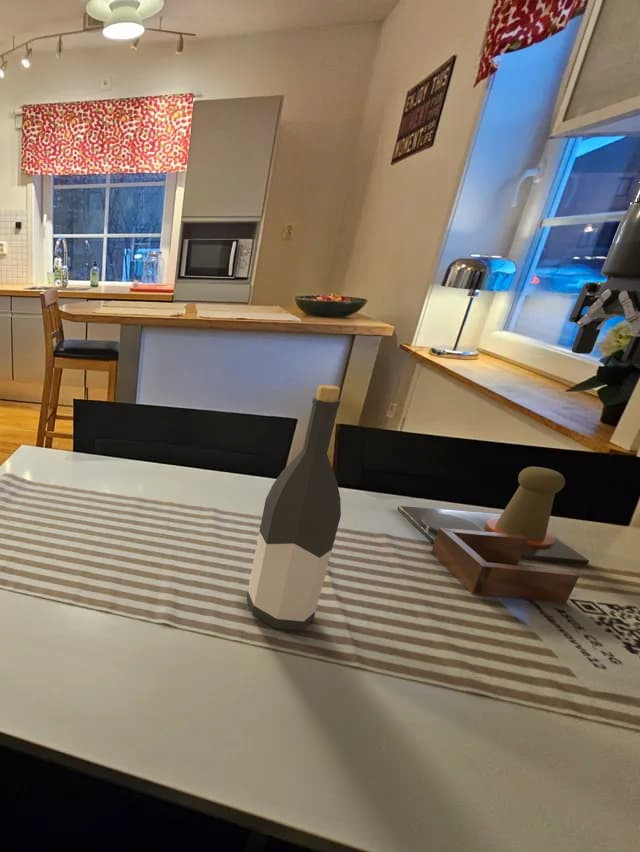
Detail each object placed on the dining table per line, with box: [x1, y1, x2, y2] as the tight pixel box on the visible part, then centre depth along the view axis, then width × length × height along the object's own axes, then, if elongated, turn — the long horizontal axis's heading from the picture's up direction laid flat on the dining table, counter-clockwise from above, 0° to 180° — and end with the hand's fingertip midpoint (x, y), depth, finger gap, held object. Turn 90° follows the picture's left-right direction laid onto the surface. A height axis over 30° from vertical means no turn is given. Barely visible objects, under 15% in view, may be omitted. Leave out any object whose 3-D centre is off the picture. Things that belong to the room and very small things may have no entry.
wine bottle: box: [246, 384, 342, 632], centre depth 59 cm, size 8×8×30 cm
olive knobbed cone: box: [496, 466, 566, 541], centre depth 79 cm, size 6×6×11 cm
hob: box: [397, 505, 590, 566], centre depth 82 cm, size 20×14×1 cm
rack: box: [430, 528, 580, 605], centre depth 71 cm, size 11×10×4 cm
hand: (604, 358), depth 73 cm, fingers open, 8 cm apart
